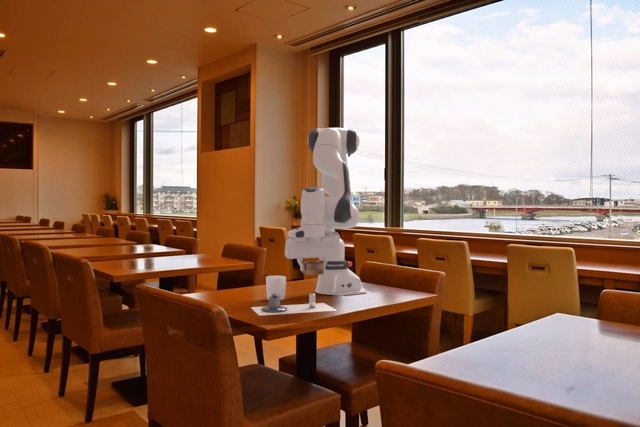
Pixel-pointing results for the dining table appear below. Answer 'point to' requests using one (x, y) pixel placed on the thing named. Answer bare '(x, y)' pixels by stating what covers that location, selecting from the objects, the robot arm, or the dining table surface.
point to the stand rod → (311, 300)
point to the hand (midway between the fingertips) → (312, 270)
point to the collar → (313, 268)
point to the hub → (274, 305)
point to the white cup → (276, 286)
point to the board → (297, 309)
